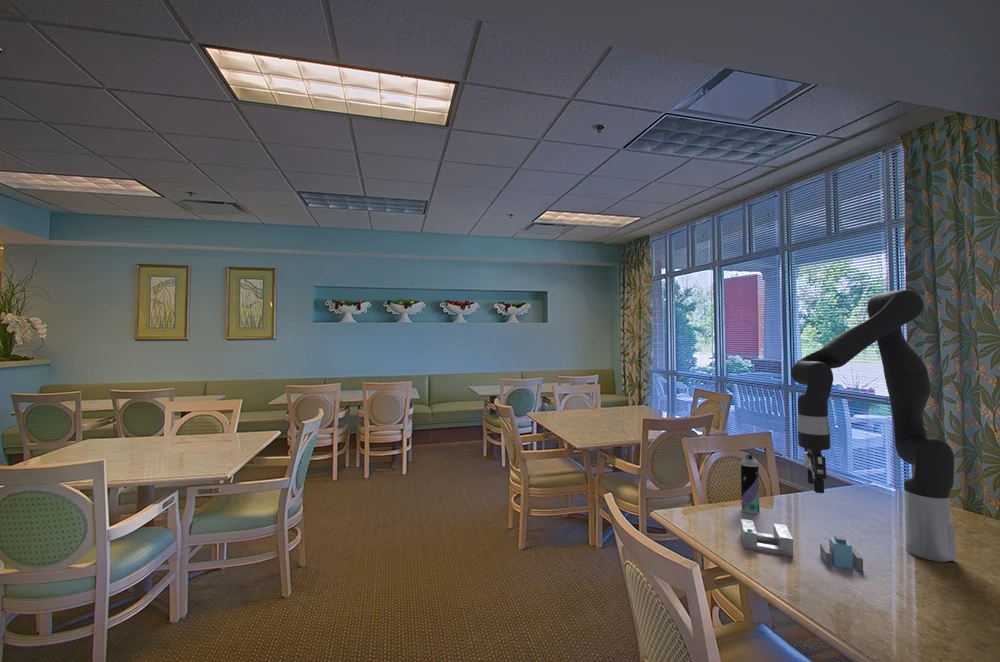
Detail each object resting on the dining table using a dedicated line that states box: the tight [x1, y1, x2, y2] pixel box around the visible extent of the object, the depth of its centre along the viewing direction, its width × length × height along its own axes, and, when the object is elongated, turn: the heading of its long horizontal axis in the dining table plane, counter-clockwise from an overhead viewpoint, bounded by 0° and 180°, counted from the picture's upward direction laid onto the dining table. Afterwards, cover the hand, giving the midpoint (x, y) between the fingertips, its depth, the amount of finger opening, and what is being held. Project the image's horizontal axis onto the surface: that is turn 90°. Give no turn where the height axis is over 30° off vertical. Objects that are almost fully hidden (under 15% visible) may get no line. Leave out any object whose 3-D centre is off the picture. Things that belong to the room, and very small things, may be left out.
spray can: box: [740, 453, 760, 515], centre depth 153 cm, size 6×6×20 cm
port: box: [740, 518, 794, 558], centre depth 127 cm, size 12×10×6 cm
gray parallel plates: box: [819, 542, 864, 573], centre depth 116 cm, size 8×6×4 cm
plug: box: [828, 535, 854, 570], centre depth 116 cm, size 4×4×7 cm
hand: (815, 487), depth 122 cm, fingers open, 8 cm apart
